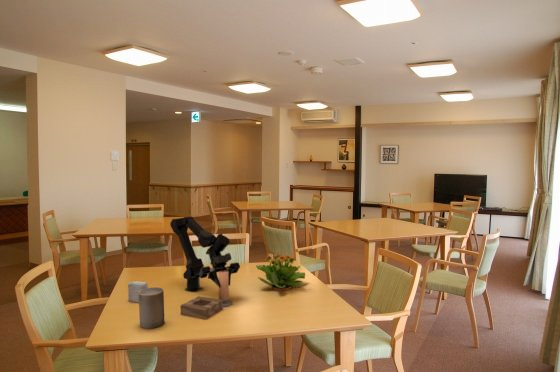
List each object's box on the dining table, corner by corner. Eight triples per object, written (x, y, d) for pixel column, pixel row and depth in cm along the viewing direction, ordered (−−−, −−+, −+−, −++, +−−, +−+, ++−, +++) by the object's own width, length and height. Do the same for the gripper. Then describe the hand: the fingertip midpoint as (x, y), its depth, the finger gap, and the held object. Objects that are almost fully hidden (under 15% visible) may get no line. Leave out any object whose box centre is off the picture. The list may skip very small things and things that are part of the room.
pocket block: (198, 304, 184) (198, 296, 183) (222, 309, 178) (222, 300, 178) (180, 314, 172) (180, 305, 172) (205, 319, 166) (205, 310, 166)
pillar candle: (167, 319, 167) (166, 283, 166) (161, 328, 157) (159, 291, 156) (143, 319, 167) (142, 284, 166) (136, 329, 157) (134, 292, 156)
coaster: (221, 300, 190) (221, 298, 190) (235, 302, 186) (235, 300, 186) (211, 305, 183) (211, 303, 182) (226, 308, 179) (226, 306, 179)
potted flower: (298, 298, 192) (298, 262, 191) (251, 294, 197) (251, 260, 196) (305, 282, 217) (306, 251, 216) (263, 280, 222) (263, 249, 221)
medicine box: (148, 300, 190) (148, 282, 189) (142, 303, 186) (142, 285, 185) (134, 298, 192) (133, 280, 191) (128, 301, 188) (127, 283, 187)
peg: (222, 297, 187) (222, 269, 187) (230, 298, 185) (230, 271, 185) (216, 300, 183) (216, 272, 182) (225, 301, 181) (225, 273, 181)
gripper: (200, 250, 182) (209, 280, 173) (238, 245, 191) (248, 274, 182) (195, 263, 189) (203, 292, 180) (232, 258, 198) (241, 286, 189)
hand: (224, 286), depth 183 cm, fingers closed on peg, 4 cm apart
